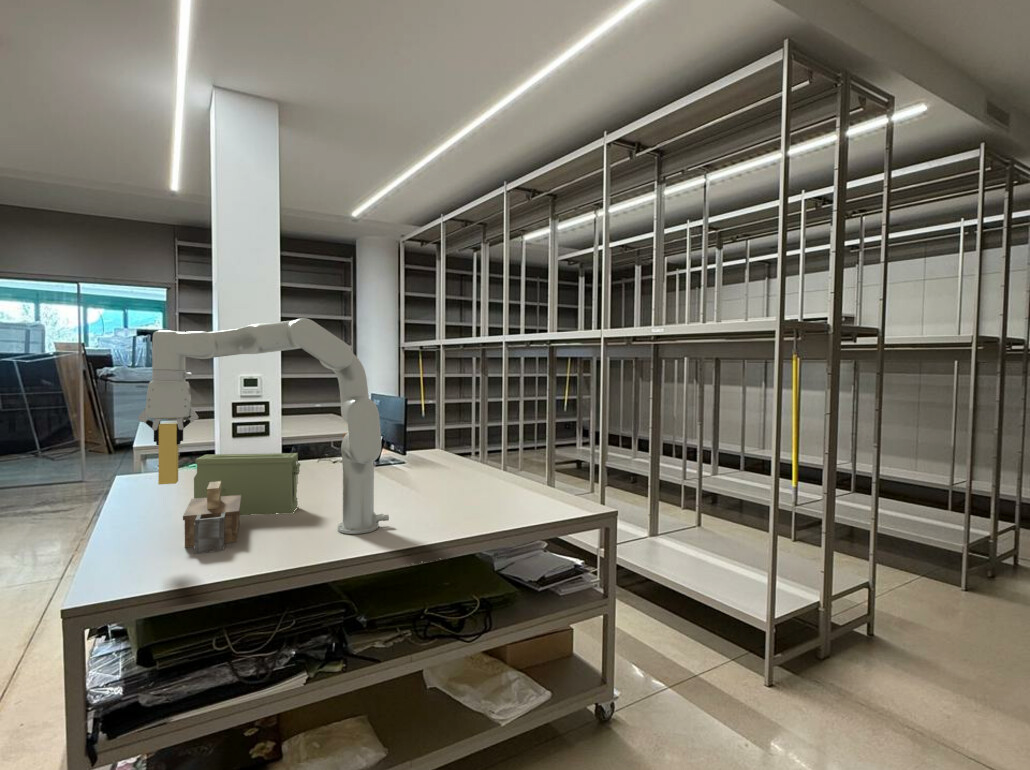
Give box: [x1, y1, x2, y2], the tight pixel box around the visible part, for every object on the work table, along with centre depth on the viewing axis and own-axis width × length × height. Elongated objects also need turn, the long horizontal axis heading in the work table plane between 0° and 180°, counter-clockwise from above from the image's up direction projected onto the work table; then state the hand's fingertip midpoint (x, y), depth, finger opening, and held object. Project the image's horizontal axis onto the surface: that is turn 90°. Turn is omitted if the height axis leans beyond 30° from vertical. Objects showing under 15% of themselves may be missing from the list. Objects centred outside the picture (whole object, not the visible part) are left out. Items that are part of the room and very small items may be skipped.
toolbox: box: [184, 512, 241, 554], centre depth 161 cm, size 13×26×8 cm, turn 25°
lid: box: [182, 481, 241, 525], centre depth 161 cm, size 14×27×8 cm, turn 25°
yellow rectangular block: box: [157, 422, 180, 485], centre depth 146 cm, size 4×4×16 cm
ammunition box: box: [193, 452, 301, 516], centre depth 189 cm, size 10×33×20 cm, turn 101°
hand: (168, 443), depth 146 cm, fingers closed on yellow rectangular block, 3 cm apart
